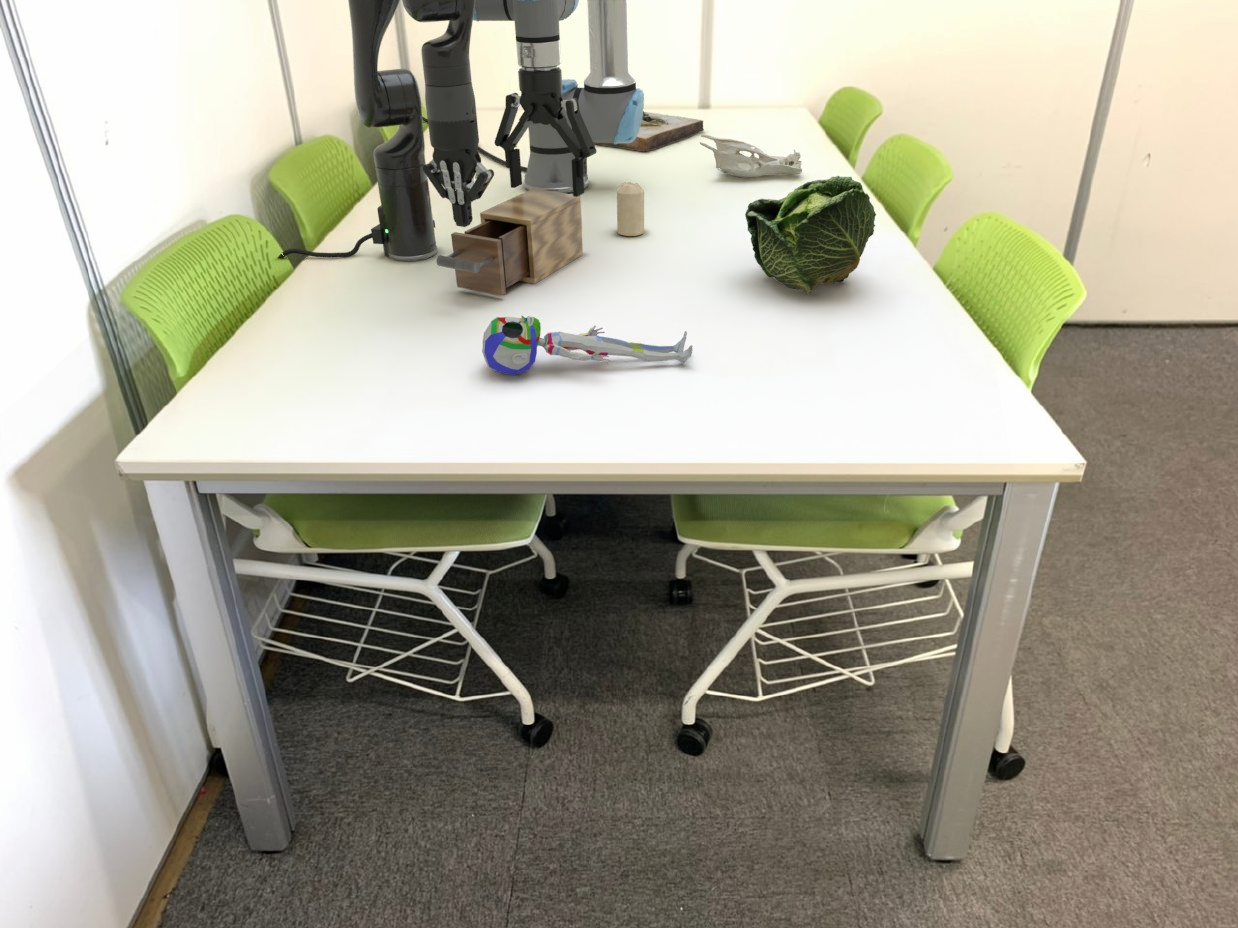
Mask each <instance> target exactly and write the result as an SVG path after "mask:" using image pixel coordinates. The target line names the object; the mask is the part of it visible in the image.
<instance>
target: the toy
mask: <svg viewBox="0 0 1238 928" xmlns="http://www.w3.org/2000/svg"><path fill="white" fill-rule="evenodd" d="M596 328H597V326H596V325H594V326H593V327H591V328H590V329H589V330H588V332H584V333H579V334H573V333H569V332H562V331H550V332H547V333H546V334H545V335H544V336H543V337H541V330H542V327H541V322H540V320H539V319H538V318H536V317H535V316H531V315H528V316H527V317H525V316H524V315H521V317H516V316H504V317H503V316H502V317H499V316H496V317H495V318H494V319H492V320H491V321H490V322H489V324H488V326H487V328H486V329H485V331H484V332H483V337H482V348H481V353H482V355H483V358H484V360H485V363H486V366H487V367H488V368H491V369H492V370H494V371H496V372H497V373H502V374H505V375H513V376H517V375H520V374H522V373H525V372H527V371H529V370H530V369H531V367H532V366H533V365H534V364H535V363H536V358H537V354H538V347H542V348H543V349H544V351H545V352H546V354H548V355H550V356H559V357H562V358H567V359H571V360H573V361H578V362H581V361H582V362H583V361H596V362H601V363H605V364H609V363H608V362H612V360H611V359H607V358H610V356H618V357H631V358H634V359H639V360H642V361H646V362H665V361H672V360H677V361H679V362H680V363H683V364H685V363H686V362H687V361H688V360H689V359H690V358H691V357H692V355H693V348H694V347H693V345H691V344H690V345H689V347H687V349H685V345H686V342H687V341H686V340H687V336H688V332H687V330H686V331H684V333H683V336H682V337H681V339H680V340H679V341H678V342H676V344H674V345H656V344H655V345H654V344H645V343H641V342H633V341H632V342H629V341H626V340H622V339H617V338H612V337H608V336H607V337H606V336H600V335H599V334H605V331H600V330H603V329H604V328H603V327H600V328H597V329H596ZM579 350H581V351H583V352H585V353H583V352H577V351H579Z"/></svg>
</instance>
